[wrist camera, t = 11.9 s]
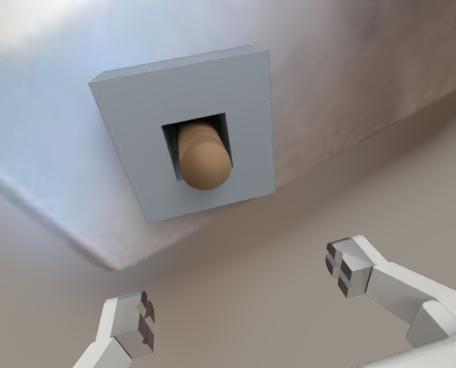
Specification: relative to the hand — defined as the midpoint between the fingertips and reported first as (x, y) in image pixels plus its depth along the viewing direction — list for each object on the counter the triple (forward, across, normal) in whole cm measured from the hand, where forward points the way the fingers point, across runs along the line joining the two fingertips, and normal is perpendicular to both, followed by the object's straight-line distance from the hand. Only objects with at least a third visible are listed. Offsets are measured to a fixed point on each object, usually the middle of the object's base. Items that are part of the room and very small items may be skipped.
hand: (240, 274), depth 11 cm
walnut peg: (+20, 0, 0) cm, 20 cm away
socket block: (+20, 0, 0) cm, 20 cm away
